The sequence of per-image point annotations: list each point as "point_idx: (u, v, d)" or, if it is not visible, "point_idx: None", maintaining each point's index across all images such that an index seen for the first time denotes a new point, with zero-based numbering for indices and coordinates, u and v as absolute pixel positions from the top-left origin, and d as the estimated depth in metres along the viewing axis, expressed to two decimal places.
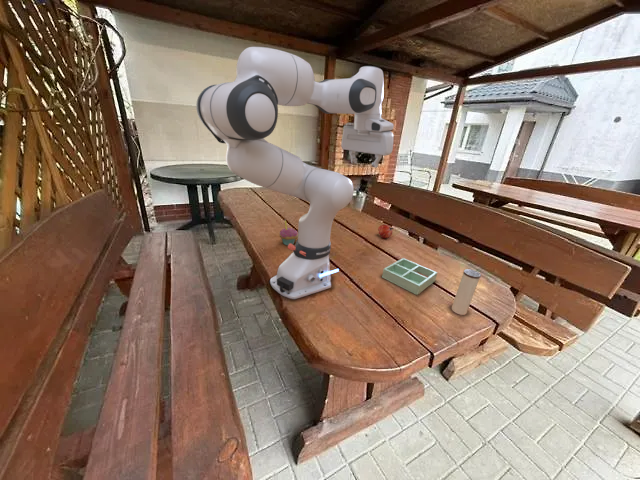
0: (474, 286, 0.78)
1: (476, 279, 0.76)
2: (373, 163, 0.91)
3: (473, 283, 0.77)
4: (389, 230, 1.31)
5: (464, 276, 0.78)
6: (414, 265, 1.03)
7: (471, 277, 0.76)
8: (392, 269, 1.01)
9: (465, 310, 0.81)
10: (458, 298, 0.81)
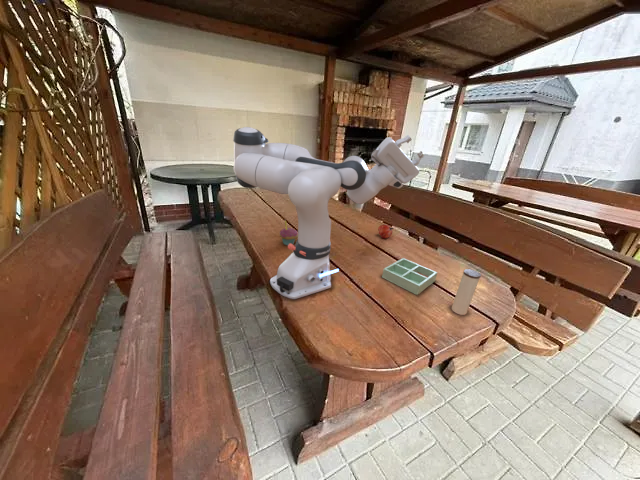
0: (474, 286, 0.78)
1: (476, 279, 0.76)
2: None
3: (473, 283, 0.77)
4: (389, 230, 1.31)
5: (464, 276, 0.78)
6: (414, 265, 1.03)
7: (471, 277, 0.76)
8: (392, 269, 1.01)
9: (465, 310, 0.81)
10: (458, 298, 0.81)
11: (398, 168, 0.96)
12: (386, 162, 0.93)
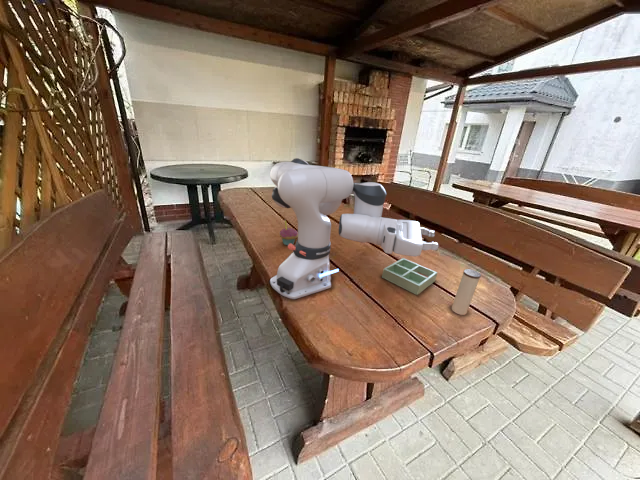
0: (474, 286, 0.78)
1: (476, 279, 0.76)
2: None
3: (473, 283, 0.77)
4: None
5: (464, 276, 0.78)
6: (414, 265, 1.03)
7: (471, 277, 0.76)
8: (392, 269, 1.01)
9: (465, 310, 0.81)
10: (458, 298, 0.81)
11: (403, 232, 0.78)
12: (400, 223, 0.84)
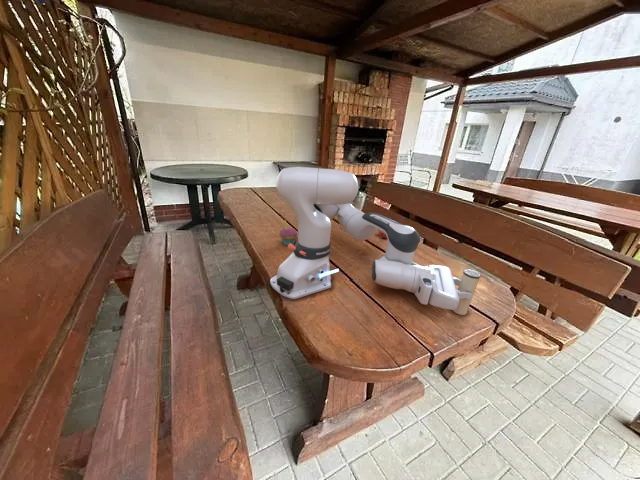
0: (474, 286, 0.78)
1: (476, 279, 0.76)
2: None
3: (473, 283, 0.77)
4: None
5: (464, 276, 0.78)
6: None
7: (471, 277, 0.76)
8: None
9: (465, 310, 0.81)
10: None
11: (438, 281, 0.81)
12: (432, 270, 0.86)
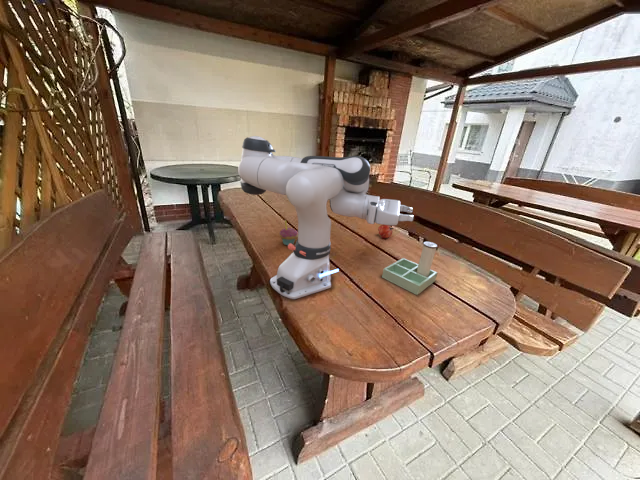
0: (432, 255, 0.93)
1: (433, 249, 0.92)
2: None
3: (430, 252, 0.92)
4: (389, 230, 1.31)
5: (424, 247, 0.93)
6: (414, 265, 1.03)
7: (429, 247, 0.92)
8: (392, 269, 1.01)
9: (426, 276, 0.96)
10: (420, 266, 0.96)
11: (385, 207, 0.91)
12: None
